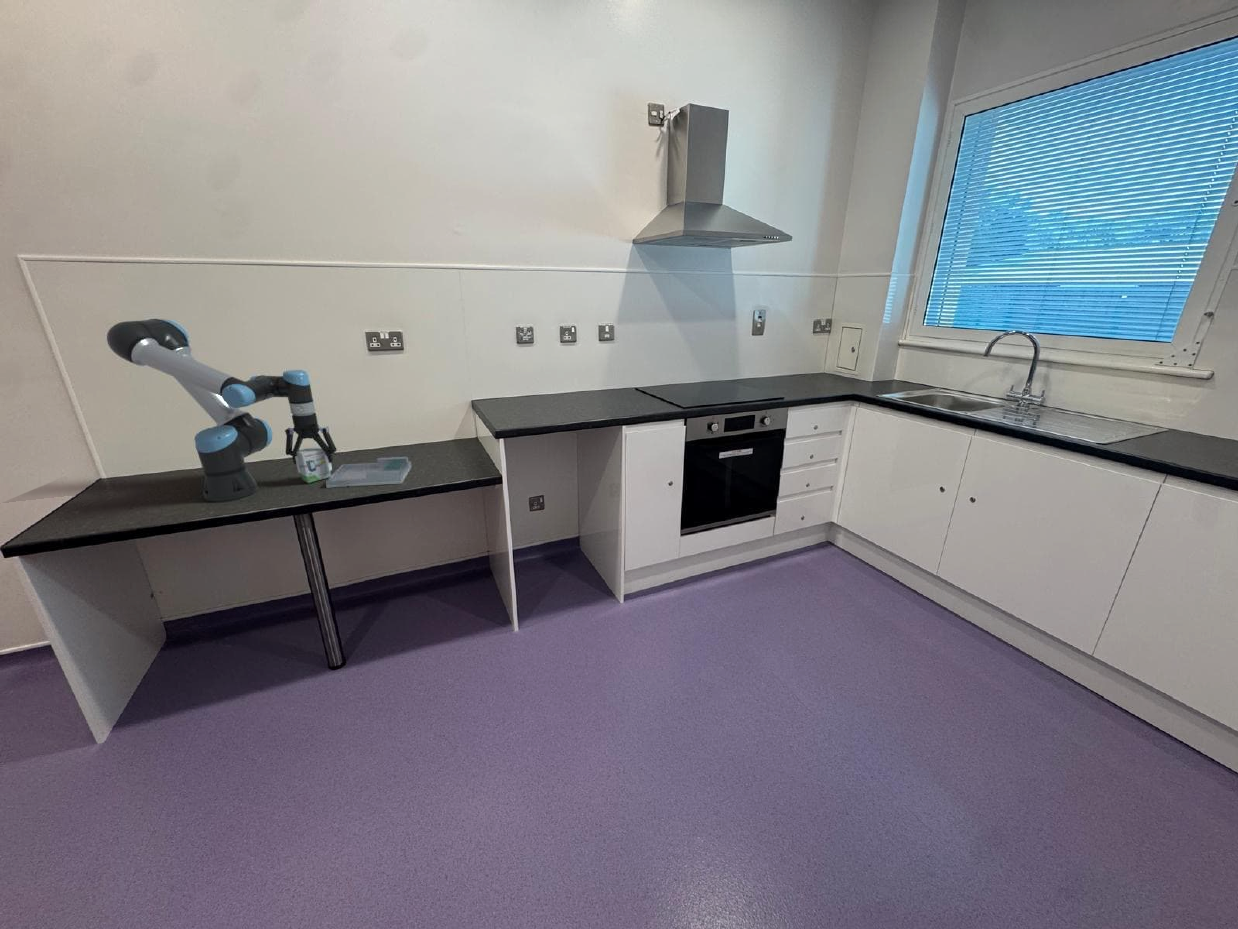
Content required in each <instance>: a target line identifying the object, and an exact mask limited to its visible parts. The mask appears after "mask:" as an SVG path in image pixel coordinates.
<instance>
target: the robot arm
mask: <svg viewBox="0 0 1238 929" xmlns="http://www.w3.org/2000/svg"><path fill="white" fill-rule="evenodd" d="M189 339H190V338H189V335H188V333H187V331H186V330H185V329H184V328H183V326H182V325H179V324H178V323H177V322H175V321H173V320H171V319H170V320H169V319H164V318H150V319H143V320H131V321H130V320H127V321H121V322H118V323H115V324H114V325H112V326H111V327H110V328H109V330H108V331H107V334H106V341H107V342H106V343H107V345H108V347H109V348H110V350H111V351H112V352H113V353H114V354H116V356H118V357H120V358H121V359H123V360H125V361H127V362H129V363H132V364H134V365H137V366H140V367H144V366H148V367H150V368H152V369H154V370H157V371H159V372H162V373H164V374H166V375H169V376H171V377H173V378H174V379H175V380H176V381H177V382H178V383H179V385H181V387H182V388H183V389H184V390H185V391H186V392H188V395H190V396H191V397H192V398H193V400H194V401H195V402H197V404H199V406H200V407H201V408H202V409H203V410H204V411H205V412H206V414H207V415H208V416H209V417H210V418H211V419H212V420H213V421H214V422H215V423H216V425H215V426H213V427H208V428H204V429H203V430H201V431H200V430H199V432H197V433H196V435H195V436H194V442H195V443H194V444H195V445H194V446H195V449H196V452H197V454H198V458H199V461H200V464H201V467H202V471H203V473H204V476H205V478H204V486H203V497H204V499H205V501H208V502H215V503H216V502H218V503H219V502H228V501H233V500H238V499H242V498H245V497H248V496H250V495H252V494H254V493H255V492H257V491H258V490H259V488H258V487H259V486H258V482H256V480H255V478H254V477H253V476H252V474H251V473H250V472H249V470H248V469H247V466H246V463H245V459H246V458H247V457H249V456H251V455H253V454H255V453H257V452H261V451H262V450H264V449H265V448H267V447H268V446H270V444H271V443H272V440H273V431H272V428H271V427H270V425H269V424H268V422H267V421H265V420H263V419H262V418H261V419H260V418H258V417H253V416H252V414H250V412H248V411H247V410H246V411H244V410H241V409H240V408H245V407H250V406H251V405H254V404H256V403H259V402H262V401H263V402H264V401H265V400H269V399H271V398H287V400H288V405H289V408H290V413H291V414H292V415H291V418H292V423H293V427H292V428H291V427H288V428H286V429H285V430H284V432H285V436H286V442H285V454H286V456H292V461H293V464H294V465H296V467H297V473H298V474H301V471H300V466H299V461H298V456H297V451H298V450H300V448H301V445H302V442H303V441H304V440H305V439H310V440H311V439H313V441H315V442H316V443H317V446H320V447H321V448H322V449H323V451H324V452H325V453H326V455H324V457H325V462H326V467H327V472H330V473H331V471H332V470H333V467H332V463H333V461H334V459H333V454H334V453H336V452H337V451H338V448H337V447H336V445H335V443H334V441H333V439H332V437H331V434H330V432H329V426H324V427H323V426H322V427H320V426H319V424H318V419H317V418H318V417H317V414H316V407H315V403H314V402H315V401H314V398H313V393H312V389H311V388H312V387H311V381H310V379H309V378H310V377H309V374H308V372H307V371H306V370H304V369H290V370H285V371H283V372H282V375H264V374H261V375H253V376H251V377H250V378H249V379H248V380H245V381H244V380H242V379H239V378H237V377H234V376H232V375H230V374H227V373H225V372H223V371H220V370H218V369H216V368H214V367H211V366H209V365H206V364H204V363H202V362H199V361H197V360H196V359H195V357H193V356H192V350H193V349H192V347H191V346H190V340H189ZM319 431H320V432H321V434H322V435H323V439H324V440H325V441H324V440H323V439H322V436H321V435H320V434H319ZM294 433H295V434H297V438H296V440H295V444H294V445H293V440H294Z"/></svg>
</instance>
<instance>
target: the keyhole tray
mask: <svg viewBox="0 0 1238 929" xmlns="http://www.w3.org/2000/svg"><path fill="white" fill-rule="evenodd" d="M412 467H413V466H412V461H411V460H409V457H408V456H393V457H378V458H377V459H376V462H368V463H367V462H366V463H350V464H349V463H347V464H346V463H345V464H341V465H340V466H339V467H338V468H337V469H336V470H335V471H334V472H333V473H332V474H331V476H330V477H328V478H326V481H325V485H326V488H327V489H328V488H329V489H330V488H331V489H332V488H344V487H347V486H349V487H363V486H364V487H365V486H377V485H378V486H379V485H381V486H382V485H395V484H396V485H397V484H398V485H399V484H403V482H404V481H405V479H406V478H407V476H408V474H409V472H410V471H411V469H412ZM347 488H348V487H347Z"/></svg>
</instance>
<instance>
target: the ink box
mask: <svg viewBox="0 0 1238 929" xmlns="http://www.w3.org/2000/svg"><path fill="white" fill-rule="evenodd" d="M324 455H326V453H325V452H324V451H323V449H322V448H321V447H320V446H319V445H317V446H316V445H315V446H311V447H308V448H303V449H299V450H298V451H297V456H298V461H299V466H300V471H301V473H300V474H301V479H302V481H304V482H306V483H308V484H309V483H313V482H316V481H317V482H318V481H320V480H323V479H328V478H329V477H330V476H331V475H332V474H331V471H330V472H327V467H326V462H325V457H324Z"/></svg>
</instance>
